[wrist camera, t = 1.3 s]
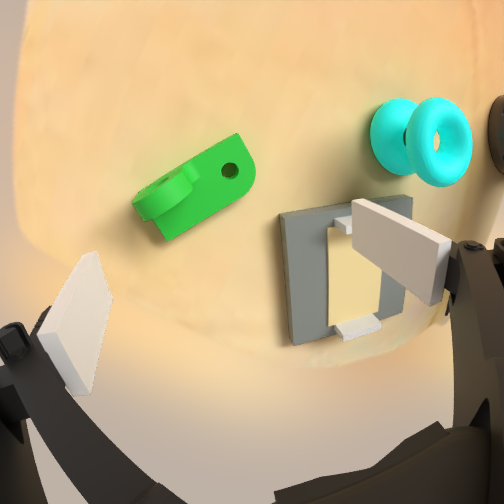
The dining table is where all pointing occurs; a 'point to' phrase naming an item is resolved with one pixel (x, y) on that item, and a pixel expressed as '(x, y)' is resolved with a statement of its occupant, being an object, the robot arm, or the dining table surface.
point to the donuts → (422, 140)
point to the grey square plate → (335, 274)
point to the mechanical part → (197, 188)
